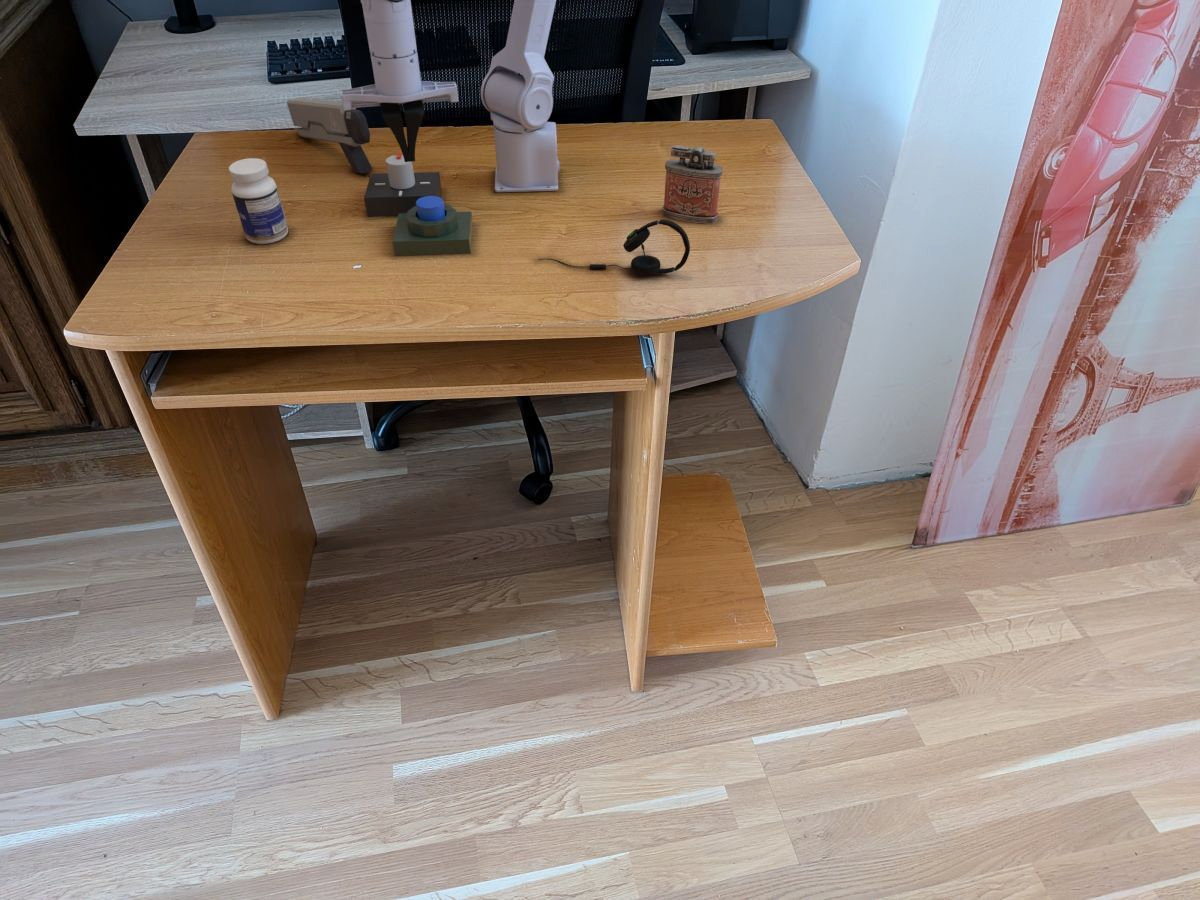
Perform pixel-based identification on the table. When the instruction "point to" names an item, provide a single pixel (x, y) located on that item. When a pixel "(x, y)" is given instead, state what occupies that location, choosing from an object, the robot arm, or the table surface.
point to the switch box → (433, 234)
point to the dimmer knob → (400, 172)
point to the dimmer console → (398, 193)
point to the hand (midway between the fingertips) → (409, 158)
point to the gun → (333, 127)
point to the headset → (644, 262)
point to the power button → (430, 208)
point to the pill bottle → (257, 201)
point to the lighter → (692, 185)
